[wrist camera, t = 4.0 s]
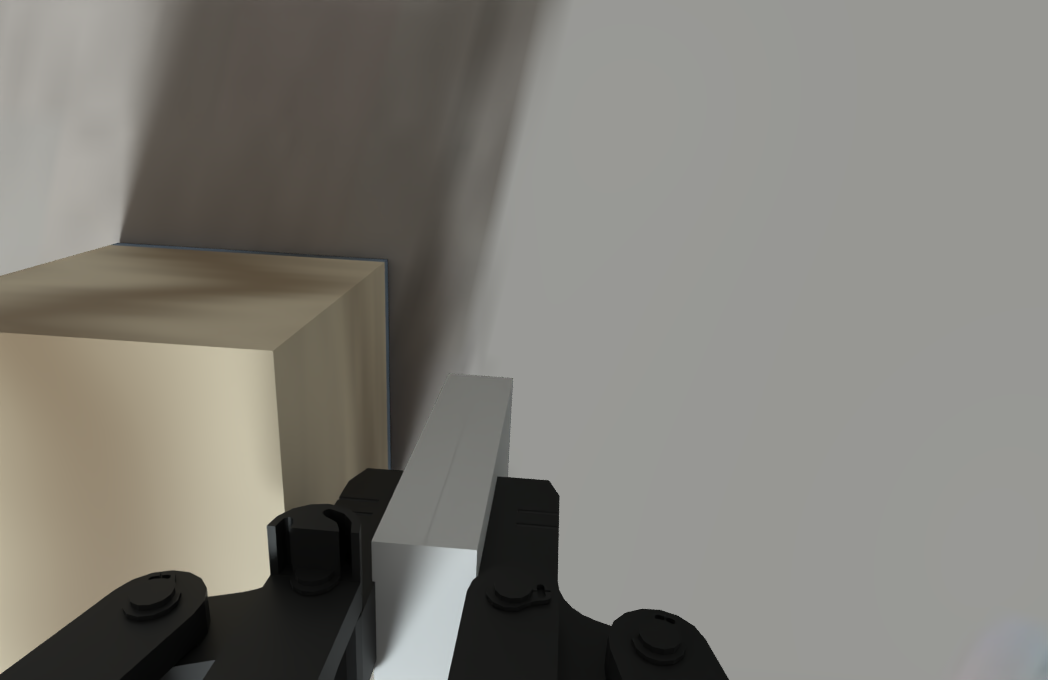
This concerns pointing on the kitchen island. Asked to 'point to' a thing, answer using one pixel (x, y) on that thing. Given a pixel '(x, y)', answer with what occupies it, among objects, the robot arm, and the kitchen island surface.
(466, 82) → the kitchen island surface
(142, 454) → the beech cube
